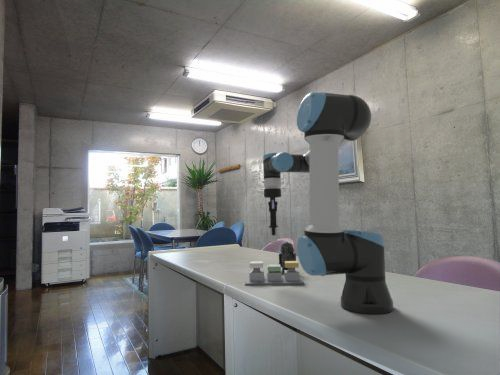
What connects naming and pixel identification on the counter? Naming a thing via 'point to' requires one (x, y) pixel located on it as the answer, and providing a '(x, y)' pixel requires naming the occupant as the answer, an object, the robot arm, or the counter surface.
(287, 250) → the toy
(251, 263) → the button white
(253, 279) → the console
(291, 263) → the button ochre
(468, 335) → the counter surface
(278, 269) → the button green
